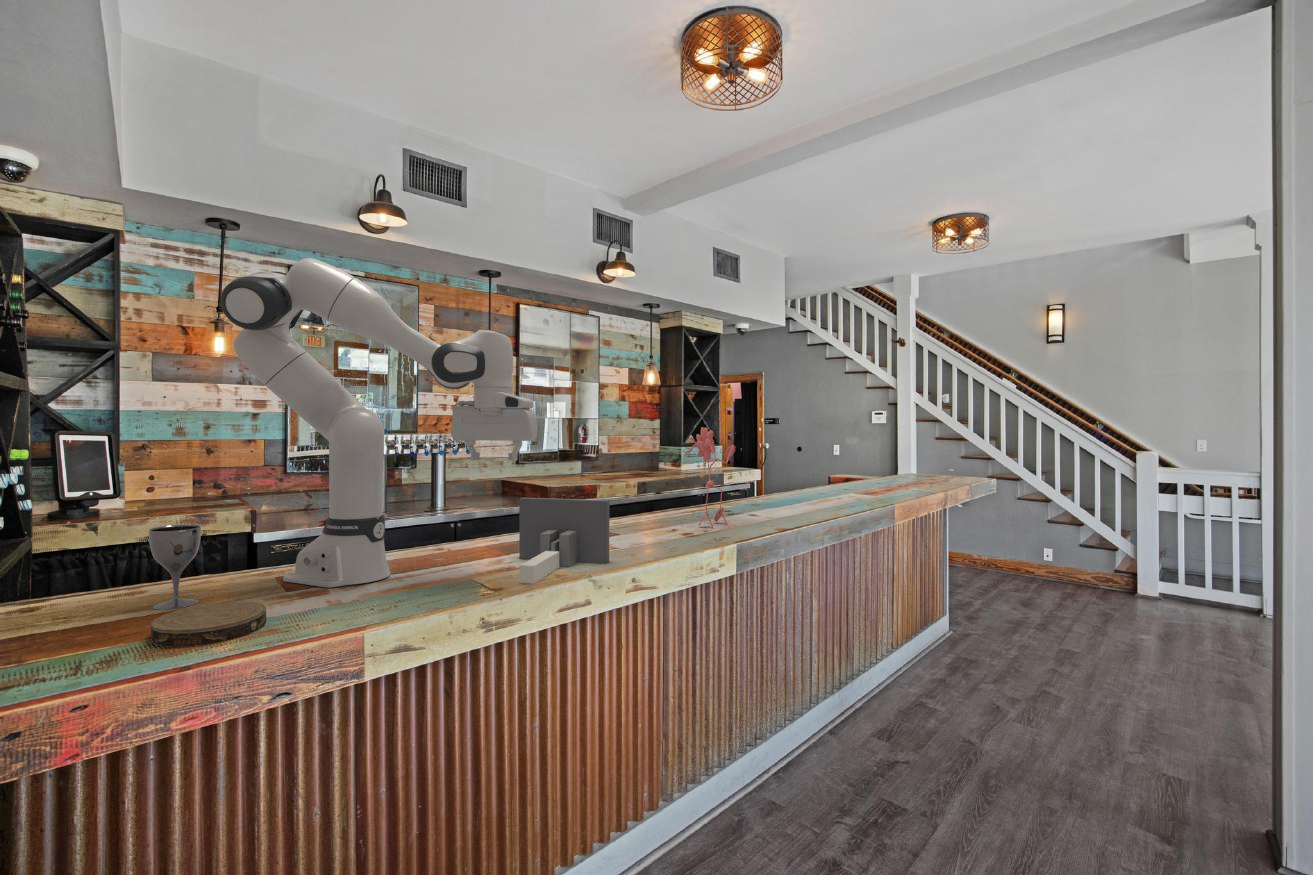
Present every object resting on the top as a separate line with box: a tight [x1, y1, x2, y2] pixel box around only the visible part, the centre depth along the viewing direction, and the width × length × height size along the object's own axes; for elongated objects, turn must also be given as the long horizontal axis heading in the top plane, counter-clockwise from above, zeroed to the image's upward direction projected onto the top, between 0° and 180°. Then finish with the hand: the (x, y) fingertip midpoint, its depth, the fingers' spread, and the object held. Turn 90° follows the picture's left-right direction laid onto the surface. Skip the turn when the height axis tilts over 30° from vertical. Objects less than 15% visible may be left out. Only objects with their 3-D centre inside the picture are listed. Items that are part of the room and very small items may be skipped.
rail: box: [519, 539, 560, 585], centre depth 149 cm, size 4×22×6 cm, turn 169°
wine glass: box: [148, 524, 202, 611], centre depth 120 cm, size 8×8×15 cm
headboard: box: [518, 497, 610, 568], centre depth 158 cm, size 24×8×16 cm, turn 79°
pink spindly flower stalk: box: [681, 426, 736, 528], centre depth 220 cm, size 15×26×35 cm, turn 142°
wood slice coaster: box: [150, 601, 267, 648], centre depth 105 cm, size 16×16×3 cm
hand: (493, 460), depth 143 cm, fingers open, 8 cm apart
